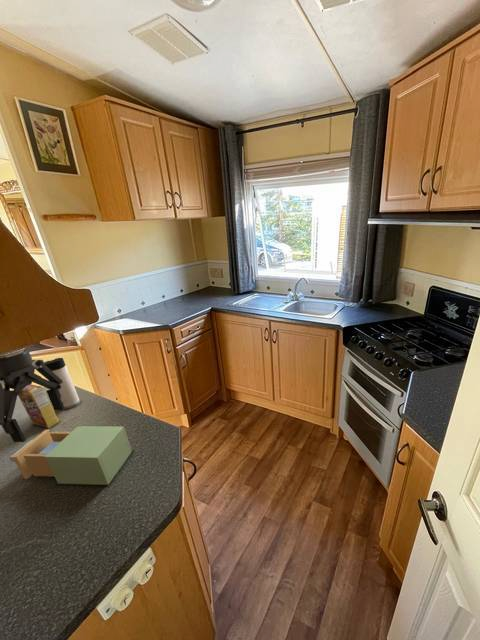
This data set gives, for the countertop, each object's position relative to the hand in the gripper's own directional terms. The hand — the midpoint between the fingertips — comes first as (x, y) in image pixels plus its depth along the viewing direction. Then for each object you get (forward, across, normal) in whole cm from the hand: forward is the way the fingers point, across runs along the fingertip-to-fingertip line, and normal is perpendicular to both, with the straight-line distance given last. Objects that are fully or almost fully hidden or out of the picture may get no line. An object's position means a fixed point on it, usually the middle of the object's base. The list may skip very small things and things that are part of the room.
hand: (41, 424), depth 79 cm
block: (+13, 0, 0) cm, 13 cm away
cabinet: (+15, 0, -11) cm, 19 cm away
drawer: (+14, 0, +2) cm, 14 cm away
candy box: (+16, +20, +22) cm, 33 cm away
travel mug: (+16, +32, +21) cm, 41 cm away
